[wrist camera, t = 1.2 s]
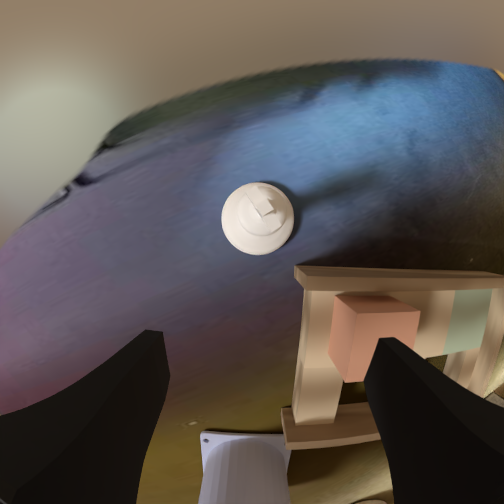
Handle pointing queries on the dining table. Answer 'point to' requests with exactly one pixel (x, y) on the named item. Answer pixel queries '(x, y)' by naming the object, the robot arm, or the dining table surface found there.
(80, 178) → the dining table surface
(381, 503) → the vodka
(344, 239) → the dining table surface
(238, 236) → the chess piece
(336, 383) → the tray
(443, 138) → the dining table surface
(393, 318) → the terracotta block
